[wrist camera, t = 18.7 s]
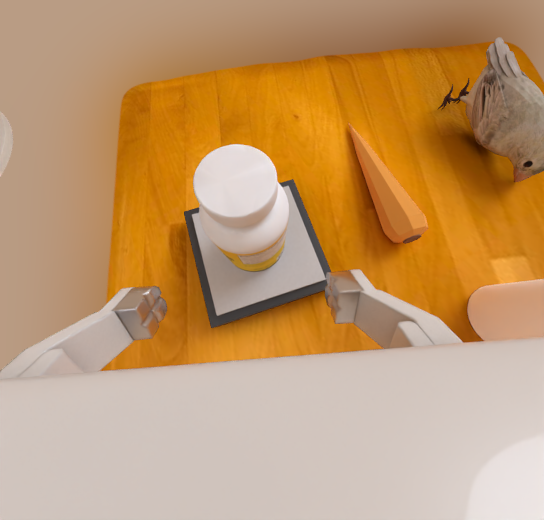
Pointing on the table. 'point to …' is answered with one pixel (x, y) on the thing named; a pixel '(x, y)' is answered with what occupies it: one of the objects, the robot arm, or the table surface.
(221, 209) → the pill bottle
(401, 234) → the carrot
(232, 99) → the table surface
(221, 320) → the scale
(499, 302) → the cylindrical container
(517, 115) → the decorative bird
